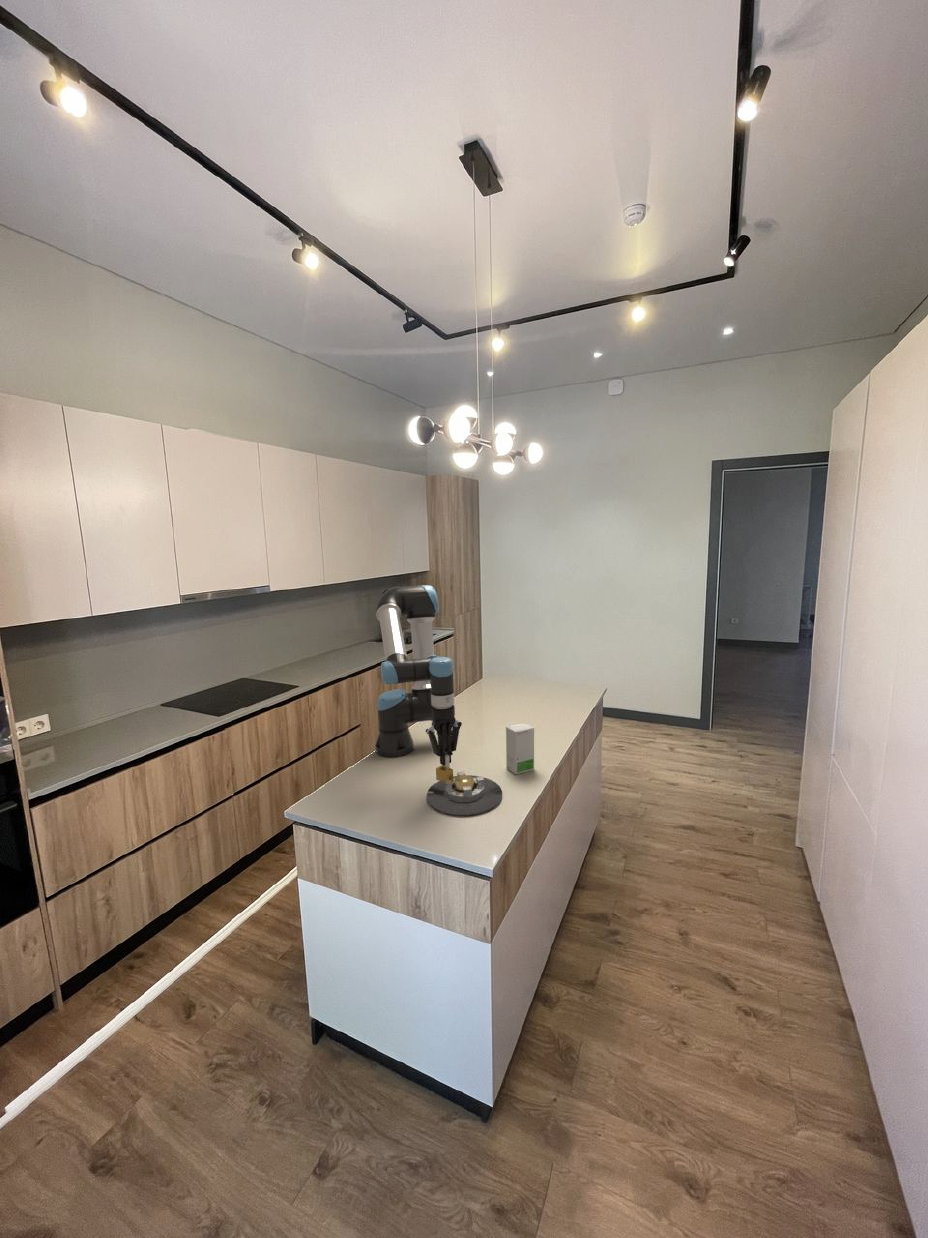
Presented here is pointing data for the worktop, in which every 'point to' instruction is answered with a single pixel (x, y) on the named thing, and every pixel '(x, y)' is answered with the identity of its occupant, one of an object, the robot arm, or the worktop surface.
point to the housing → (464, 809)
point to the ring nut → (467, 795)
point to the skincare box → (520, 748)
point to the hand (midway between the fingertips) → (446, 772)
